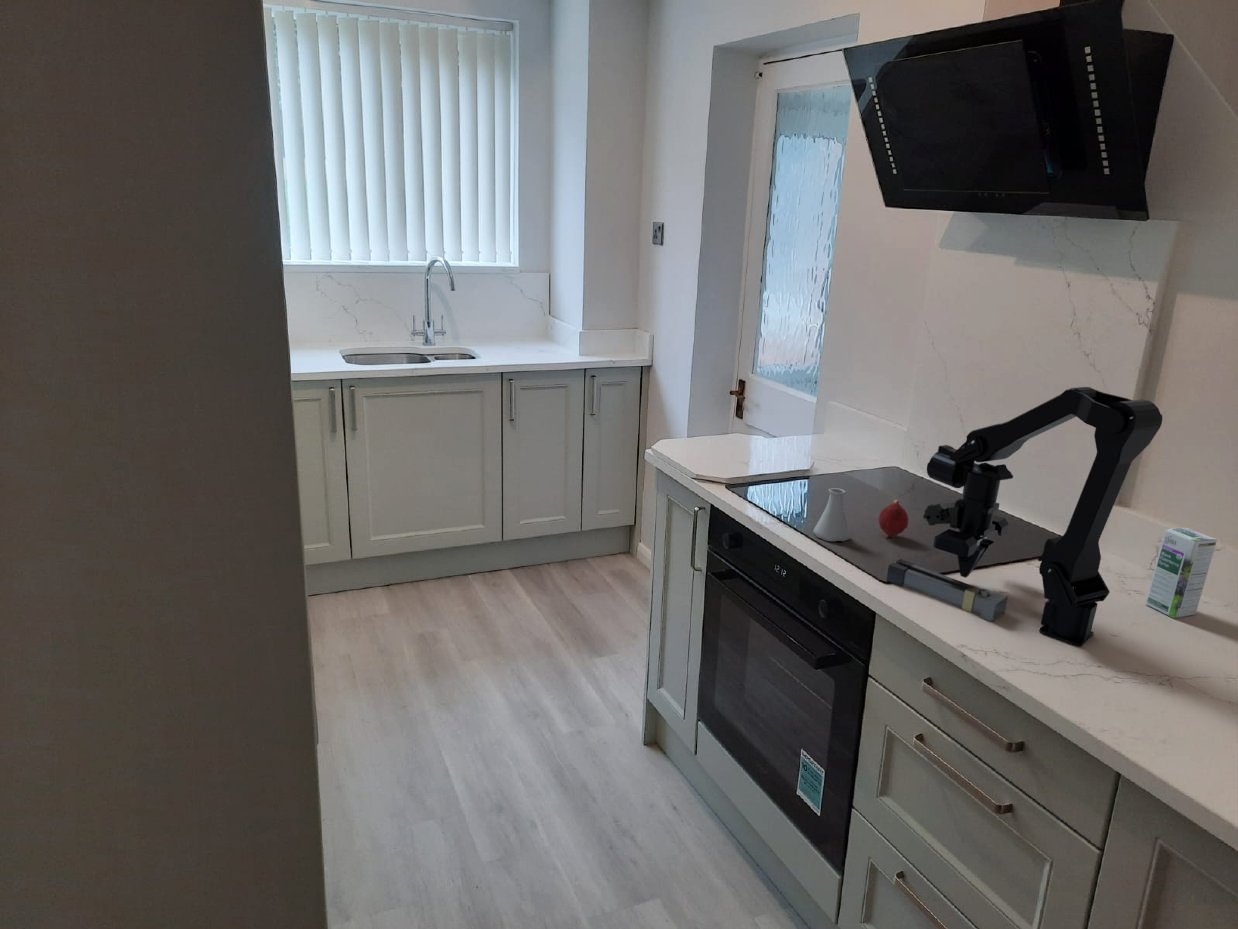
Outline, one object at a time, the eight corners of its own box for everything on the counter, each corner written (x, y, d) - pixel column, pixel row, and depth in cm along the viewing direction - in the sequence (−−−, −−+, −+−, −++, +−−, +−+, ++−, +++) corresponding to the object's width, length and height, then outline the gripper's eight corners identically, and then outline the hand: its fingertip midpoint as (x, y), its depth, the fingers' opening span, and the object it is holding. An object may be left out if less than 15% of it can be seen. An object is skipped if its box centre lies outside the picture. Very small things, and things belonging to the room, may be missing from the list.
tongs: (1004, 612, 145) (1008, 593, 144) (992, 622, 141) (996, 602, 140) (898, 574, 158) (901, 556, 157) (884, 581, 155) (887, 563, 154)
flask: (856, 541, 173) (863, 495, 170) (826, 544, 170) (832, 497, 168) (835, 528, 180) (841, 483, 177) (806, 531, 177) (812, 486, 174)
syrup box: (1143, 604, 151) (1163, 528, 147) (1167, 600, 153) (1187, 525, 149) (1173, 619, 146) (1194, 541, 142) (1197, 615, 148) (1219, 538, 144)
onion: (906, 543, 173) (912, 506, 171) (877, 540, 174) (883, 503, 172) (903, 533, 179) (909, 497, 176) (875, 530, 180) (880, 494, 177)
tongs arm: (989, 607, 146) (993, 590, 145) (984, 610, 145) (988, 593, 144) (898, 573, 158) (901, 557, 157) (893, 576, 157) (895, 560, 156)
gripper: (957, 475, 163) (944, 550, 168) (912, 495, 150) (899, 575, 155) (1016, 490, 156) (1000, 568, 161) (974, 513, 143) (958, 597, 148)
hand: (964, 576), depth 156 cm, fingers closed
